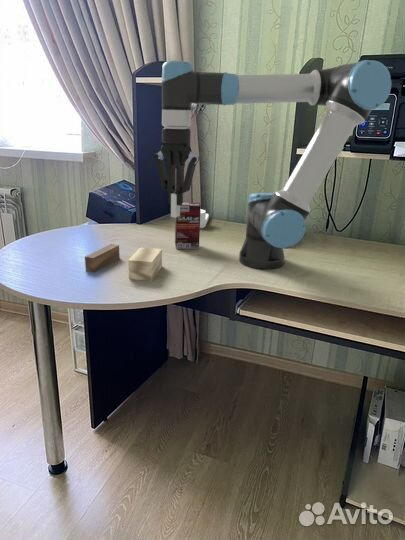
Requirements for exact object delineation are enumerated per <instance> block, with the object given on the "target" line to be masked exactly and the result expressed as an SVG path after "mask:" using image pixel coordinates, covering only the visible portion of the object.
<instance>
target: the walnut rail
mask: <svg viewBox="0 0 405 540" xmlns="http://www.w3.org/2000/svg"><path fill="white" fill-rule="evenodd" d="M119 259H120V244H115V243H110V244H108V245H106V246H104V247H102V248H100V249H97V250H96V251H93V252H92V253H89V254H87V255H86V256H84V263H85V271H87V272H90V273H91V272H92V273H95V272H97V271H99V270H100V269H103V268H104V267H106V266H108V265H111V263H113V262H115V261H117V260H119Z"/></svg>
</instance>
